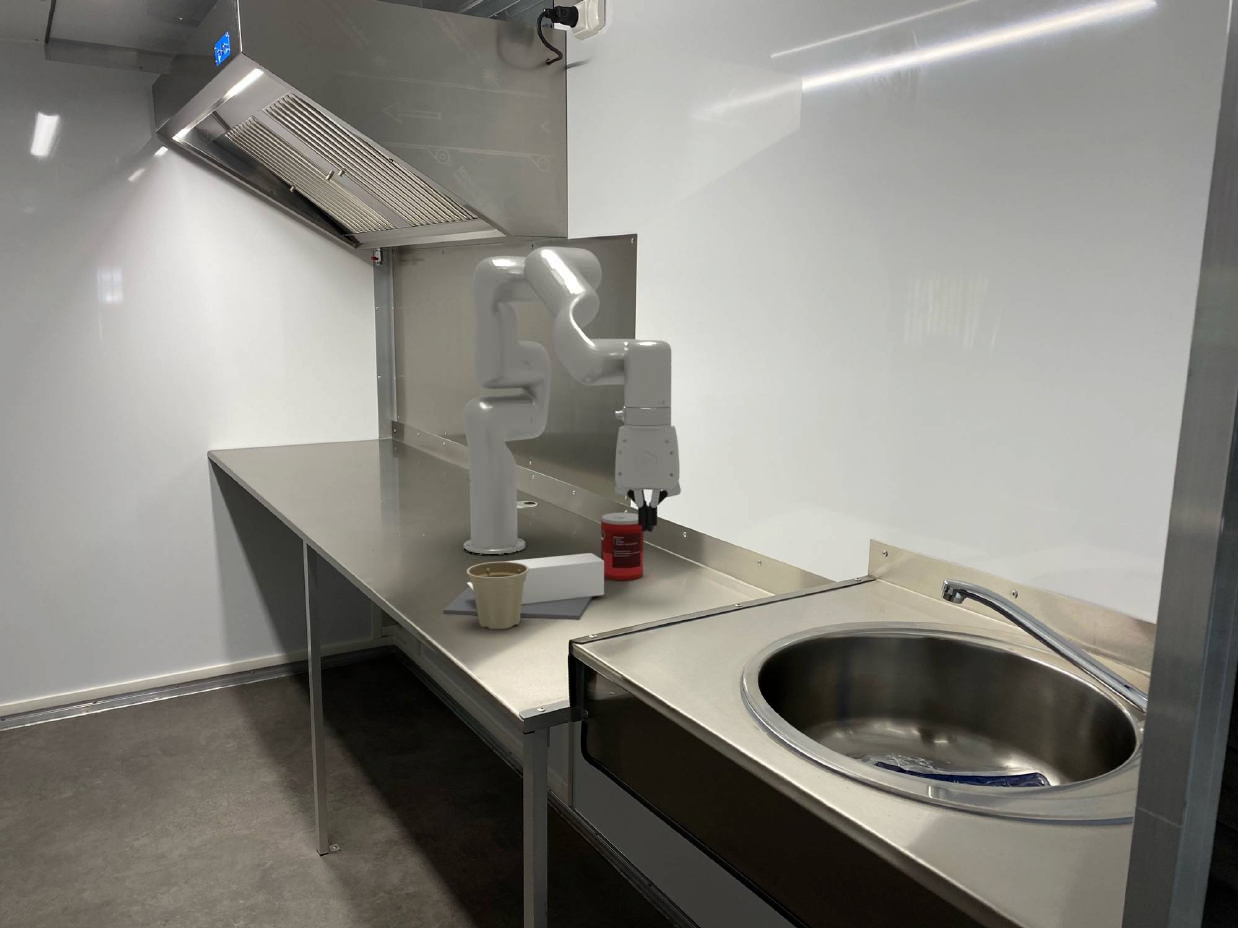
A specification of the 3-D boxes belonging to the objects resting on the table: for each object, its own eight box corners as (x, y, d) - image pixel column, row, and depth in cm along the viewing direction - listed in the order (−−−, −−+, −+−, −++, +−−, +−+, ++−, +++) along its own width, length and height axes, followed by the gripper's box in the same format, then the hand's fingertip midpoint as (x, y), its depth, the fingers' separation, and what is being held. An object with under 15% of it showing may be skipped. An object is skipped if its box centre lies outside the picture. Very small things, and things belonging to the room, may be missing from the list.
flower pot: (486, 637, 136) (484, 580, 135) (457, 621, 143) (455, 567, 142) (541, 625, 141) (540, 570, 140) (510, 610, 149) (509, 558, 148)
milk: (604, 594, 155) (475, 611, 147) (591, 585, 161) (466, 601, 153) (604, 559, 154) (474, 574, 146) (591, 551, 160) (465, 565, 152)
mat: (479, 580, 167) (479, 576, 167) (600, 584, 164) (600, 581, 164) (443, 613, 147) (443, 609, 147) (579, 619, 144) (579, 615, 144)
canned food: (618, 567, 176) (618, 510, 174) (652, 574, 171) (652, 516, 169) (592, 575, 170) (591, 517, 168) (626, 583, 165) (626, 522, 163)
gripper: (597, 419, 146) (598, 533, 148) (692, 420, 143) (691, 536, 146) (605, 415, 153) (606, 524, 156) (695, 416, 151) (695, 526, 153)
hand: (647, 529), depth 151 cm, fingers closed
